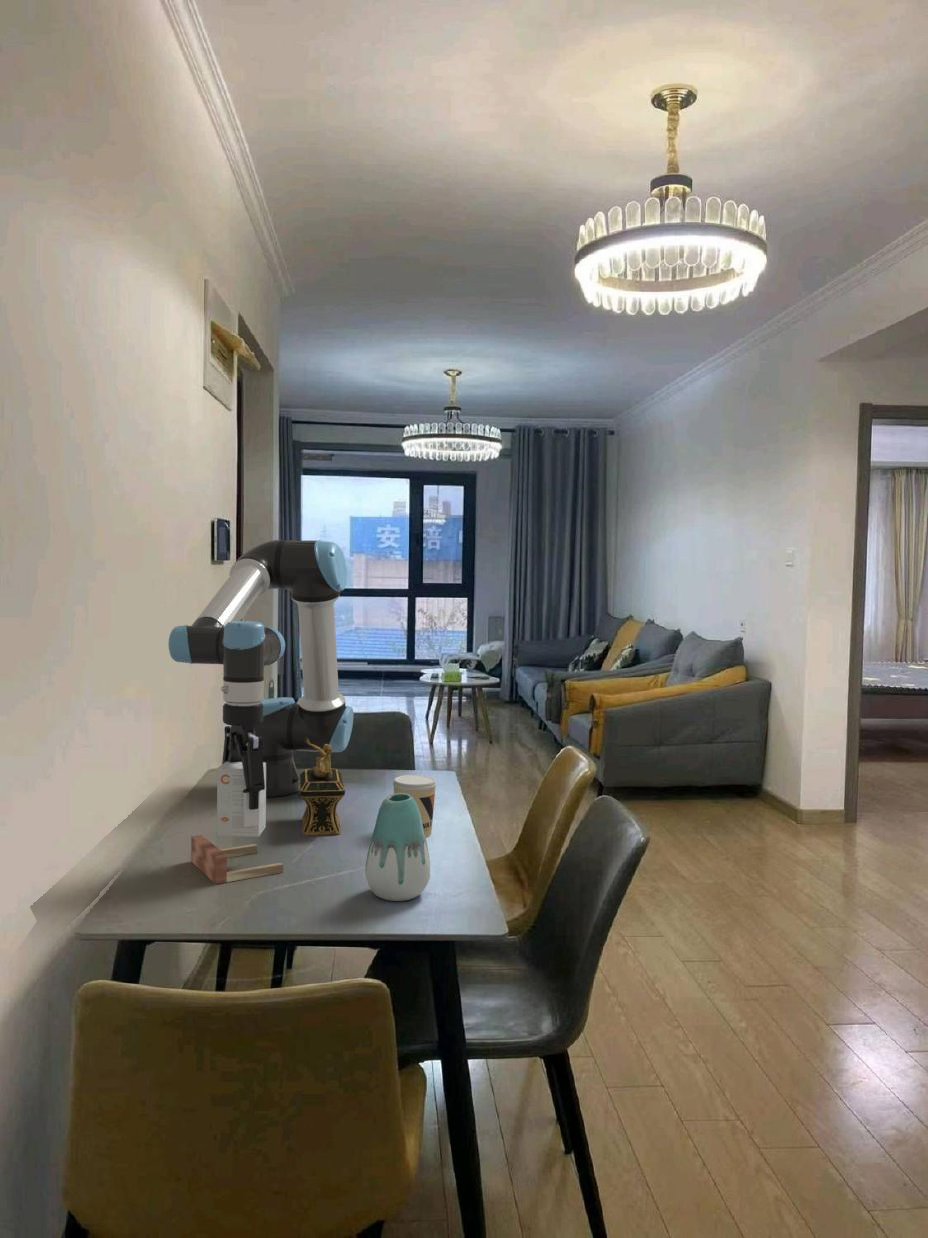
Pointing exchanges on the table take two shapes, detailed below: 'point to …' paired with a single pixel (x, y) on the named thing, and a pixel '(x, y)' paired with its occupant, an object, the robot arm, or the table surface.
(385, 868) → the vase
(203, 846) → the keeper seat
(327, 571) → the robot arm
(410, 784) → the coffee cup
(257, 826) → the small box
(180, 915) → the table surface
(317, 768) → the decorative box
